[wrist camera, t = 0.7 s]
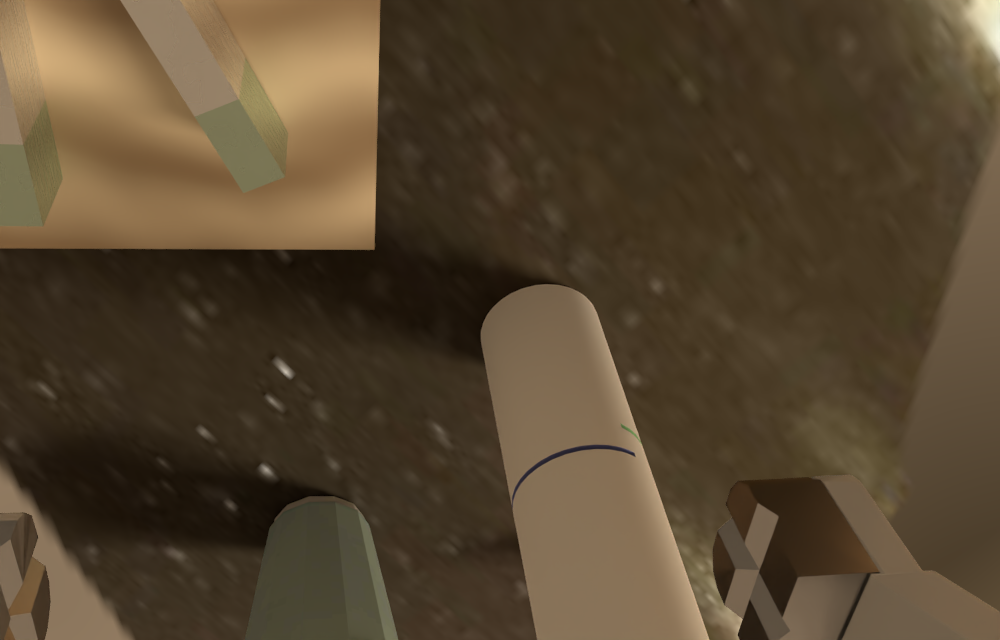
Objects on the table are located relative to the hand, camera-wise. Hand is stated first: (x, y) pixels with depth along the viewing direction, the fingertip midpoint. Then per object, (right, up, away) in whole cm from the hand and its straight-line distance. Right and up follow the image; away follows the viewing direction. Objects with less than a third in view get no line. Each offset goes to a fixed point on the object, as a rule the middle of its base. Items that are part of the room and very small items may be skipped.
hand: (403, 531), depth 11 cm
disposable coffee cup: (-11, -11, +53) cm, 56 cm away
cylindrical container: (+4, +2, +45) cm, 45 cm away
